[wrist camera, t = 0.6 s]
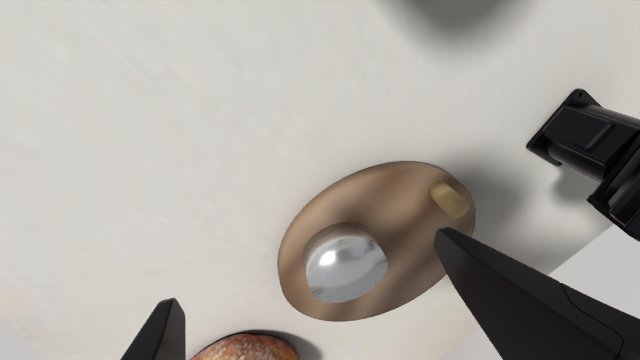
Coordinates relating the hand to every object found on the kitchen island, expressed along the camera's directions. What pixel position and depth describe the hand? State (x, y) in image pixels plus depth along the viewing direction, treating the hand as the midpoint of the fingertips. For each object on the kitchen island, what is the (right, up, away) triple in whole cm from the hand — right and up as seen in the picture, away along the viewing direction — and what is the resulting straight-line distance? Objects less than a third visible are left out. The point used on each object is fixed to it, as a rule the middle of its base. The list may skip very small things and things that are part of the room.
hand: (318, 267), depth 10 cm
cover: (+2, -4, +17) cm, 17 cm away
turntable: (+6, -4, +21) cm, 22 cm away
